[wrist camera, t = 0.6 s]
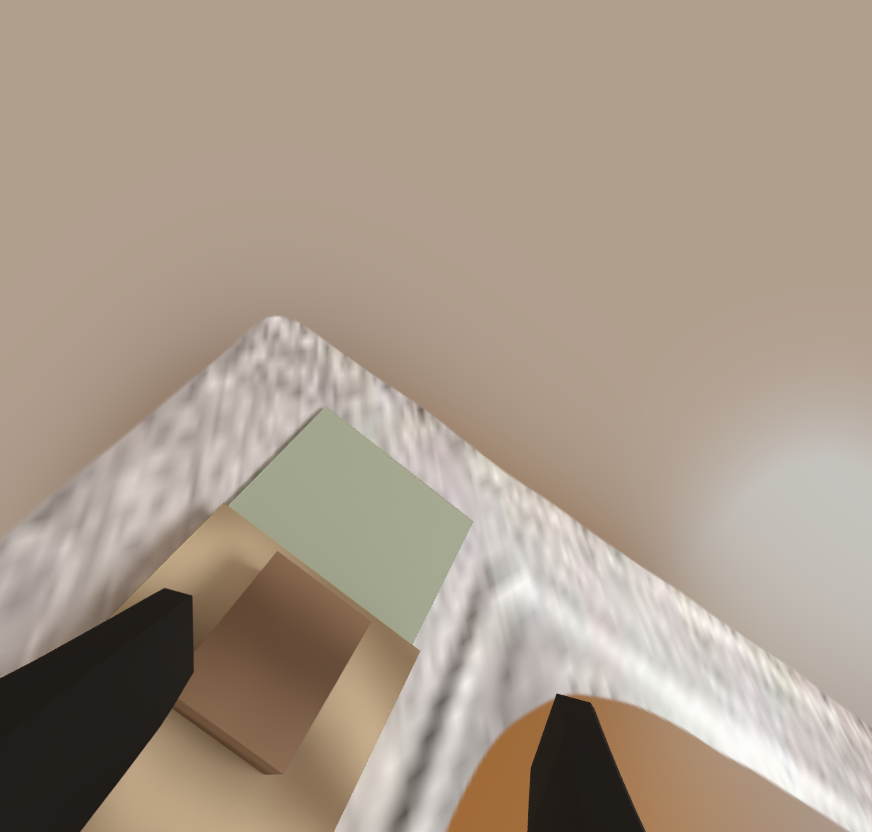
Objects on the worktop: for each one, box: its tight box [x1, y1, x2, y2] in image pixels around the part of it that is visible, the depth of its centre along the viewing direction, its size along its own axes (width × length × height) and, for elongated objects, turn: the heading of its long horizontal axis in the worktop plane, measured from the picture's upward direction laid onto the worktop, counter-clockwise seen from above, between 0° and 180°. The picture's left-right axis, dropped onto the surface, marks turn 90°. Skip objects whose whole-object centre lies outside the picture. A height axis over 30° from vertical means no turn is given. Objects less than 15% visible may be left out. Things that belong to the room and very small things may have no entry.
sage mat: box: [228, 406, 473, 645], centre depth 29 cm, size 9×12×1 cm
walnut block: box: [172, 551, 371, 775], centre depth 20 cm, size 6×5×3 cm
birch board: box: [81, 503, 420, 832], centre depth 20 cm, size 14×12×2 cm
